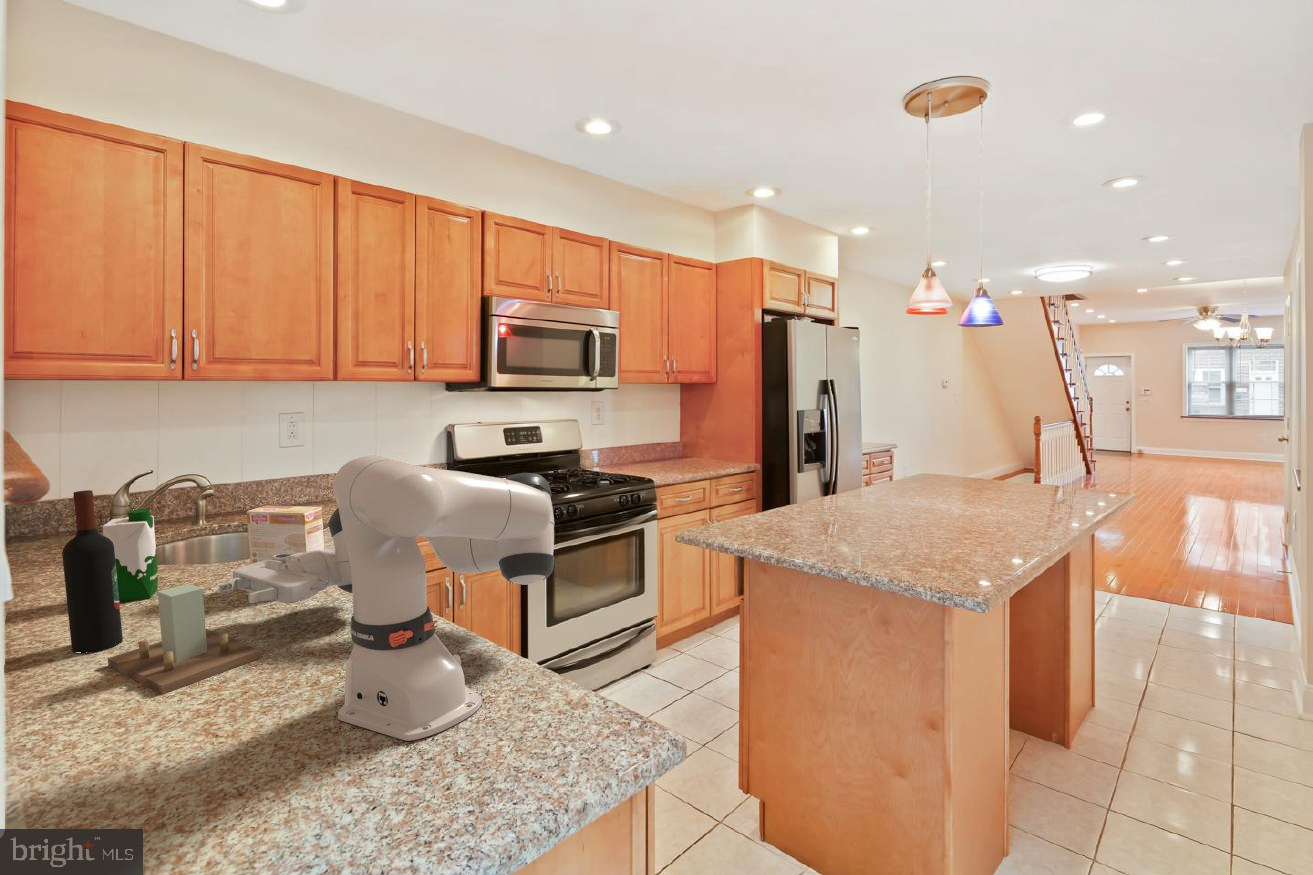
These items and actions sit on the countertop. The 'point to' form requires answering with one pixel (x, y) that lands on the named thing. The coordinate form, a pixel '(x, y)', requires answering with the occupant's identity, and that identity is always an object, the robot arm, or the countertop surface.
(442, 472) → the robot arm
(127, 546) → the milk carton
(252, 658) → the nest board
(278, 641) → the countertop surface
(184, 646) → the block
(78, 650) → the wine bottle
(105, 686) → the countertop surface
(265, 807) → the countertop surface
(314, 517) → the coffeecake box
